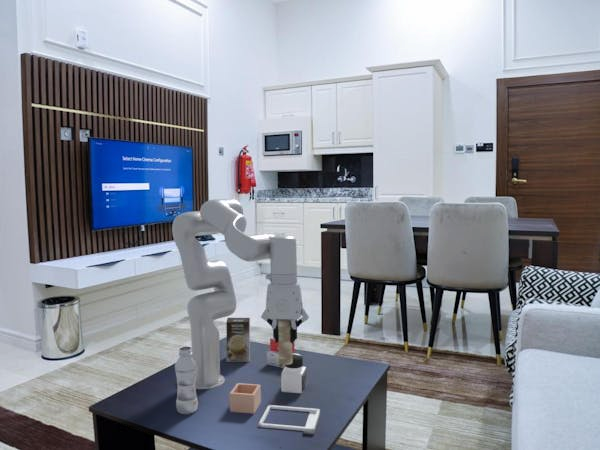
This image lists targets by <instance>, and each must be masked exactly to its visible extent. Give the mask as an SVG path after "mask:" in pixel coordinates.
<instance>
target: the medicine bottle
mask: <svg viewBox="0 0 600 450" xmlns="http://www.w3.org/2000/svg"><path fill="white" fill-rule="evenodd" d="M292 357H293V363H292V364H290V365H285V368H283V369H282V371H281V373H280V375H281V376H280V377H281V379H280V381H281V382H280V383H281V384H280V385H281V386H280V388H281V389H280V390H281V391H280V392H283V393H292V394H293V393H295V394H303V393H304V391H305V388H306V386H307V367H306V366H304V357H303V355H301V354H299V353H294V354H292Z"/></svg>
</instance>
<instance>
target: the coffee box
mask: <svg viewBox="0 0 600 450" xmlns="http://www.w3.org/2000/svg"><path fill="white" fill-rule="evenodd" d="M250 323H251V318H250V317H227V319H226V323H225V324H226V362H227V363H247V362H248V363H249V362H250V358H251V336H250V334H251V324H250Z"/></svg>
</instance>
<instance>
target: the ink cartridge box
mask: <svg viewBox="0 0 600 450" xmlns="http://www.w3.org/2000/svg"><path fill="white" fill-rule="evenodd" d="M269 343H270V344H269V350H268V351H266V363H267V365H268V366H273V367H278V368H282V369H284V368H285V365H281V364H279V349H278V342H277V343H275V339H274V338H270V339H269ZM295 345H296V344H295V342H294V343H292V354H295Z"/></svg>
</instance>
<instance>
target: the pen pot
mask: <svg viewBox="0 0 600 450" xmlns="http://www.w3.org/2000/svg"><path fill="white" fill-rule="evenodd" d="M261 388H262V387H261V384H256V383H255V384H254V383H243V382H237V383H236V384H235V386H234V387H233V388H232V389H231V391H230V392H229V412H230V413H241V414H243V413H244V414H252V415H253V414H256V412H257V410H258V408H259V407H260V404H261V403H262V397H261V396H262V392H261V391H262V389H261Z"/></svg>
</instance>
